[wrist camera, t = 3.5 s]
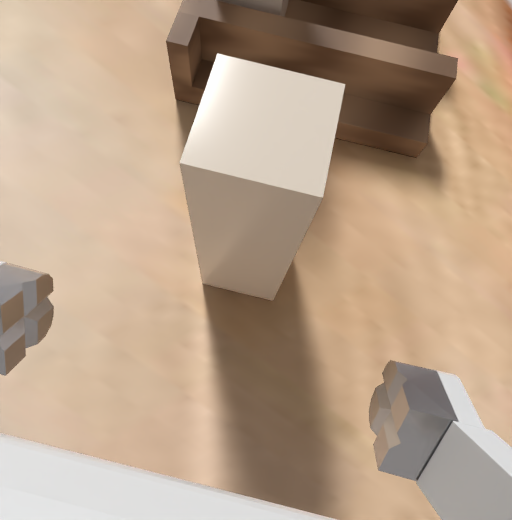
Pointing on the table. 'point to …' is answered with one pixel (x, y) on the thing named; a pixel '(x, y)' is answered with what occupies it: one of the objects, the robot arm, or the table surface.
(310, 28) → the rack
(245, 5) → the racked bar
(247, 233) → the clay bar
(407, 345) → the table surface
